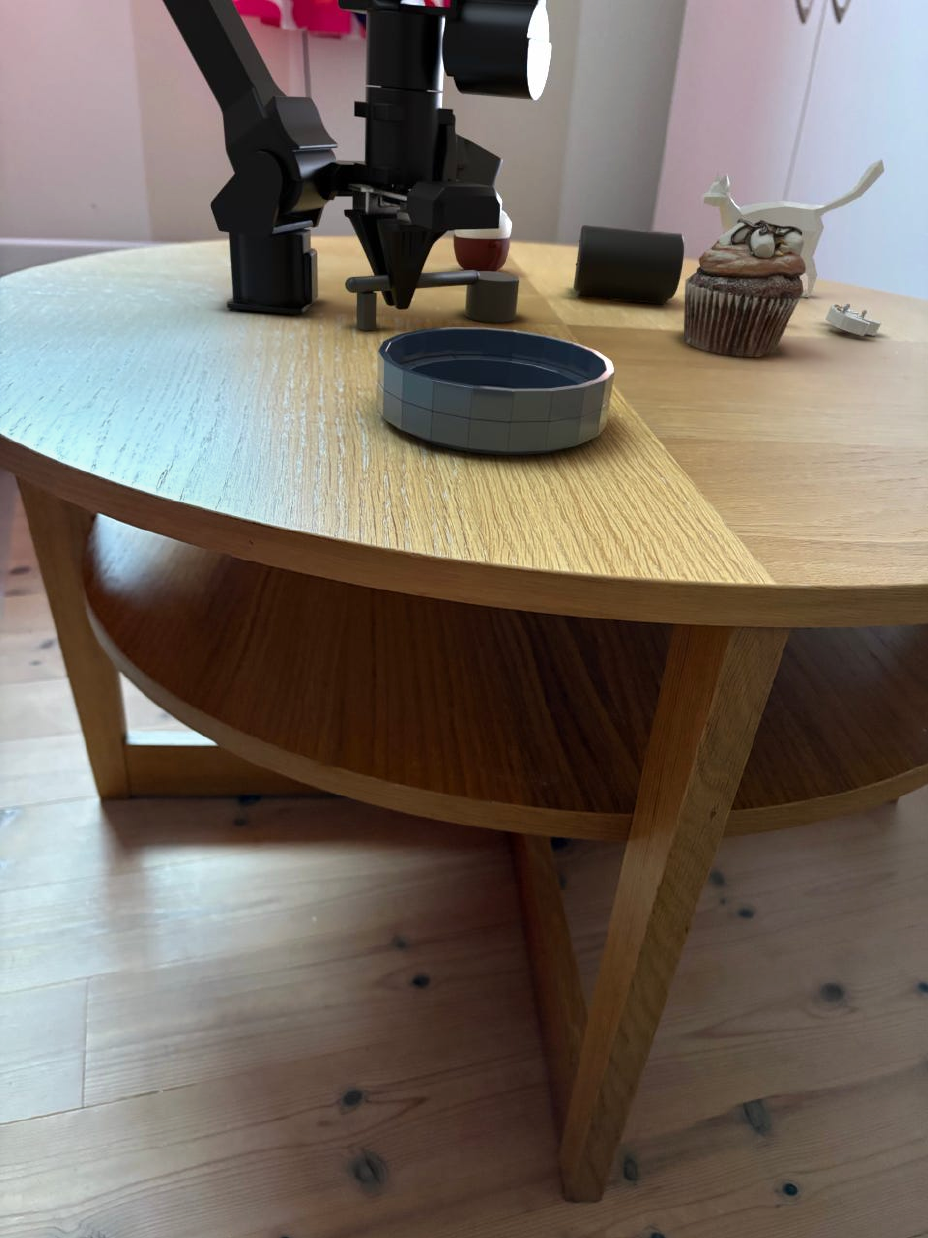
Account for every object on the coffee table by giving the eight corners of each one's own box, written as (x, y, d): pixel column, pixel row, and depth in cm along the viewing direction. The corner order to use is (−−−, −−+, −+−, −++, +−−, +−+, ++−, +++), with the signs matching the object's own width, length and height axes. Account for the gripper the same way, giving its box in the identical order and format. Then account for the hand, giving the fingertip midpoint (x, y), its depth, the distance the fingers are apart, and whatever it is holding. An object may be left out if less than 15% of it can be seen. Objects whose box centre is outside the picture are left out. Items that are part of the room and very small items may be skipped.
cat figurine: (678, 284, 101) (704, 144, 94) (838, 291, 104) (875, 157, 97) (692, 292, 97) (720, 147, 90) (858, 299, 101) (898, 160, 93)
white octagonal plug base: (888, 340, 83) (897, 311, 82) (775, 338, 81) (782, 308, 80) (856, 325, 88) (864, 298, 86) (748, 322, 86) (754, 294, 84)
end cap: (574, 302, 88) (583, 228, 84) (569, 288, 94) (578, 219, 90) (674, 311, 88) (688, 237, 84) (663, 296, 94) (676, 227, 90)
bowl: (361, 449, 49) (361, 377, 47) (393, 379, 61) (394, 319, 59) (612, 471, 49) (624, 400, 47) (595, 396, 61) (604, 337, 59)
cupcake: (710, 326, 83) (735, 209, 78) (806, 350, 77) (840, 226, 72) (651, 338, 77) (674, 213, 72) (751, 366, 71) (782, 231, 66)
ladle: (360, 337, 70) (361, 283, 68) (332, 324, 73) (331, 271, 71) (526, 320, 80) (530, 272, 78) (494, 309, 83) (498, 262, 81)
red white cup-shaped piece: (509, 280, 96) (520, 155, 90) (451, 276, 95) (458, 150, 89) (504, 264, 104) (514, 149, 98) (451, 261, 104) (458, 145, 97)
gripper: (568, 103, 64) (543, 325, 72) (422, 89, 76) (415, 280, 84) (443, 93, 58) (430, 337, 66) (307, 80, 70) (310, 286, 78)
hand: (397, 307), depth 74 cm, fingers closed on ladle
